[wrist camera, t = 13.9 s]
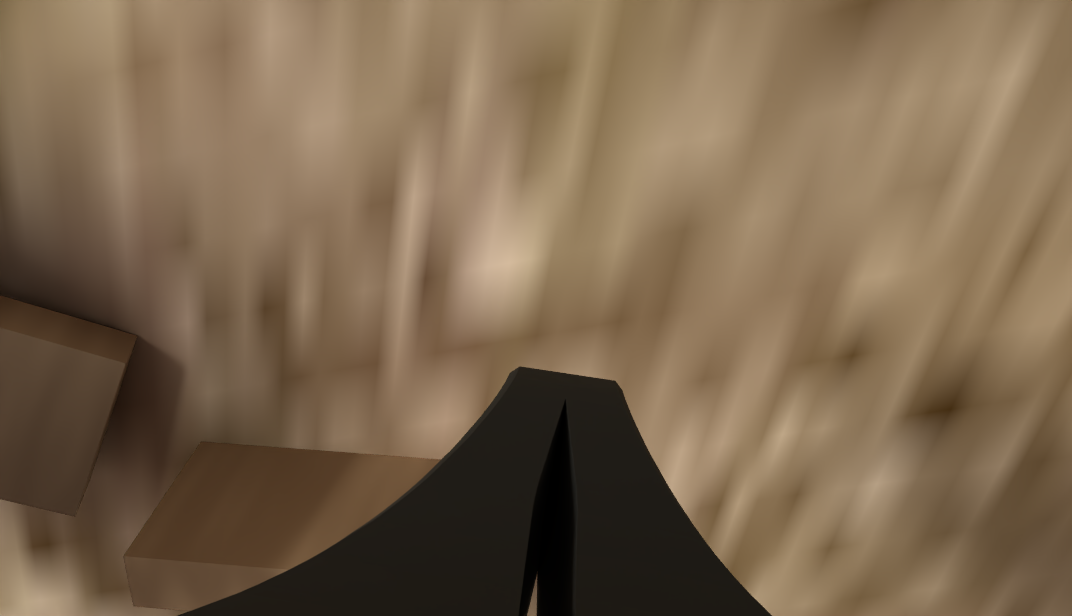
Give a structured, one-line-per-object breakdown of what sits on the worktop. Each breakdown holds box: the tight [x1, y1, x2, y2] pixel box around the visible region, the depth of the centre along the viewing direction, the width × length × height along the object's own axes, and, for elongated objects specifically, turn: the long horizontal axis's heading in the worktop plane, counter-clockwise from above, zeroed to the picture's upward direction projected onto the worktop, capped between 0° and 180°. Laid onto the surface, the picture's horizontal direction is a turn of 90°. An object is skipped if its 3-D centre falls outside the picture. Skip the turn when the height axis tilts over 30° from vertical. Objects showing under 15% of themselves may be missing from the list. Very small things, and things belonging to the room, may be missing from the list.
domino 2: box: [124, 442, 440, 611], centre depth 23 cm, size 1×4×7 cm
